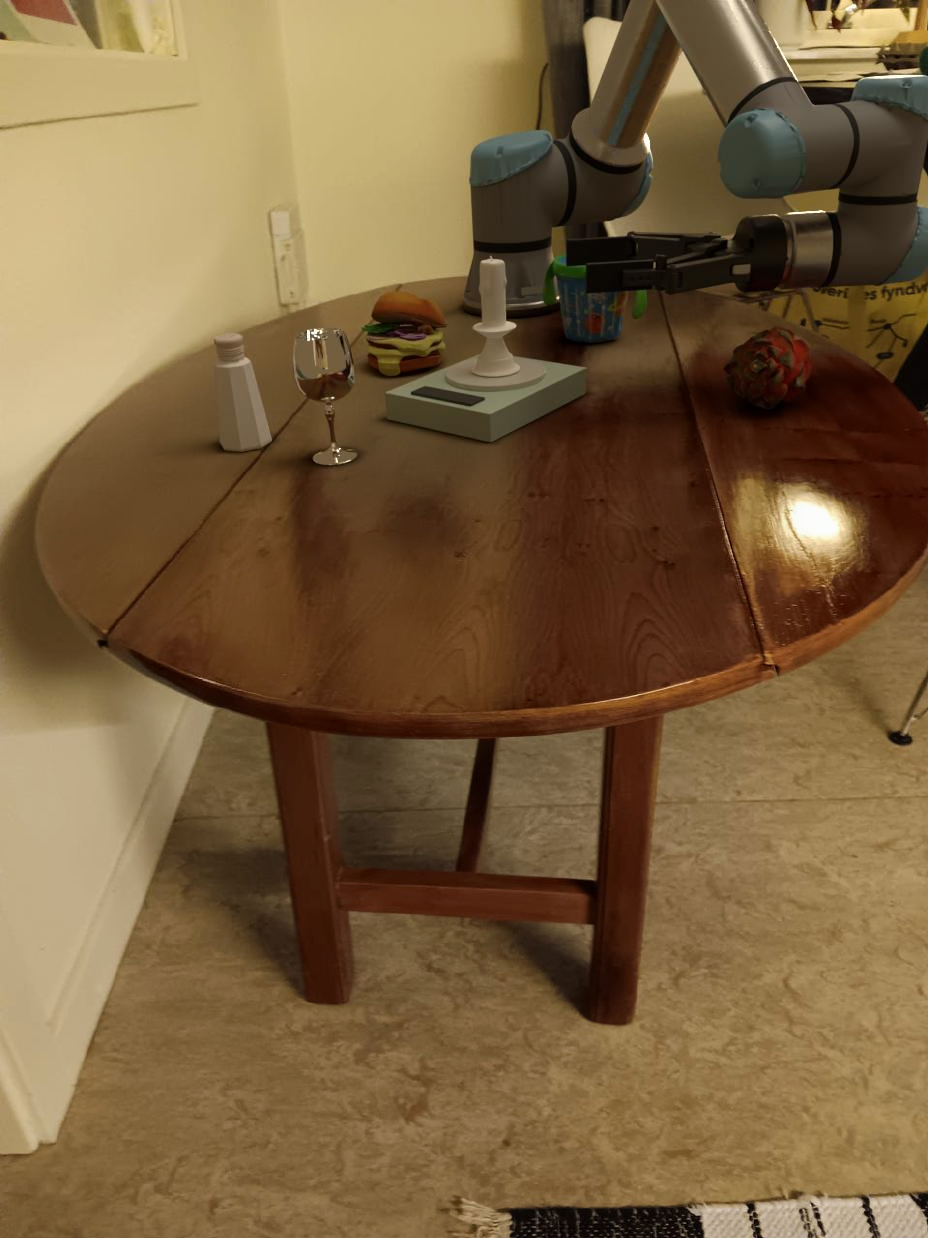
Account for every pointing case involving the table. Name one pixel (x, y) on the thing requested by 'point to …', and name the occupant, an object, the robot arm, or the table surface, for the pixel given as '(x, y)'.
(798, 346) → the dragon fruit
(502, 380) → the kitchen scale
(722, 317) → the table surface
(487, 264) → the candle
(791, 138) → the robot arm
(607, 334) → the snack cup
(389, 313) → the cheeseburger
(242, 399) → the pepper shaker
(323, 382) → the wineglass
